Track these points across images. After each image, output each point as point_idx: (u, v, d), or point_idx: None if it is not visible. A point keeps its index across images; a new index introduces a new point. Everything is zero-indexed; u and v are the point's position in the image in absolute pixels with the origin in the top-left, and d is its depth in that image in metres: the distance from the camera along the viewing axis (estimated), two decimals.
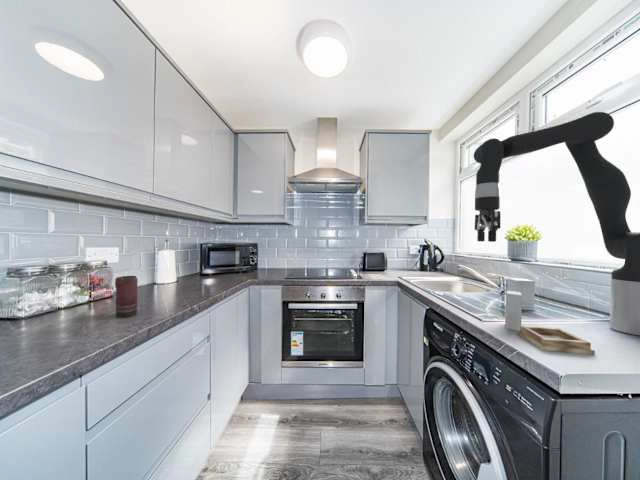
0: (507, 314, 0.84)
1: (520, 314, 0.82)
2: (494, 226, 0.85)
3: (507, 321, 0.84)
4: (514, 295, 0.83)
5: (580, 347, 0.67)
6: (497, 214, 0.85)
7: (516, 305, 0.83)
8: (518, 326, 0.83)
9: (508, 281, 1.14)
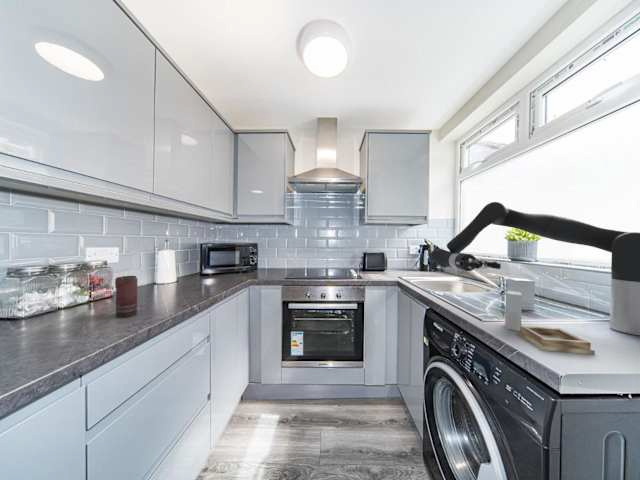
0: (507, 314, 0.84)
1: (520, 314, 0.82)
2: (463, 265, 1.01)
3: (507, 321, 0.84)
4: (514, 295, 0.83)
5: (580, 347, 0.67)
6: (457, 262, 1.05)
7: (516, 305, 0.83)
8: (518, 326, 0.83)
9: (508, 281, 1.14)
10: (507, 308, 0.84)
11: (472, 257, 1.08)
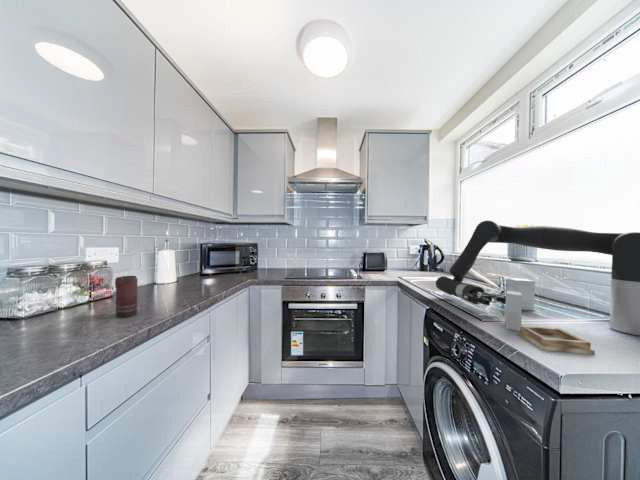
0: (507, 314, 0.84)
1: (520, 314, 0.82)
2: (472, 300, 0.96)
3: (507, 321, 0.84)
4: (514, 295, 0.83)
5: (580, 347, 0.67)
6: (465, 296, 1.00)
7: (516, 305, 0.83)
8: (518, 326, 0.83)
9: (508, 281, 1.14)
10: (507, 308, 0.84)
11: (480, 289, 1.03)
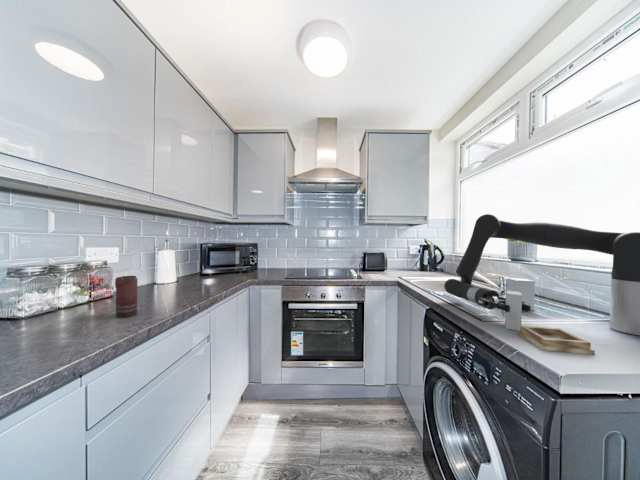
0: (507, 314, 0.84)
1: (520, 314, 0.82)
2: (489, 306, 0.88)
3: (507, 321, 0.84)
4: (514, 295, 0.83)
5: (580, 347, 0.67)
6: (480, 300, 0.92)
7: (516, 305, 0.83)
8: (518, 326, 0.83)
9: (508, 281, 1.14)
10: None
11: (495, 293, 0.95)
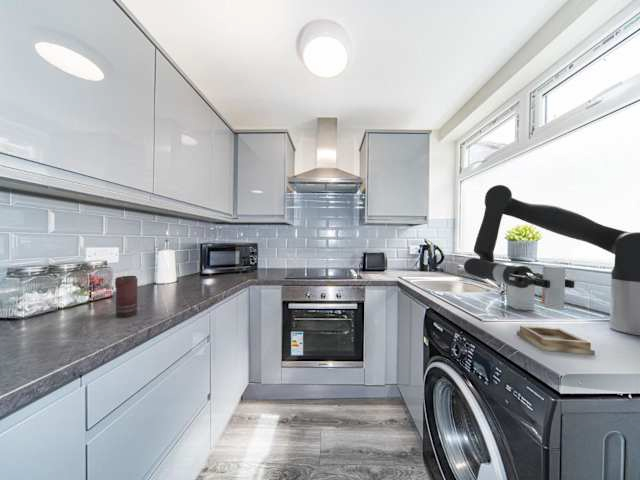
0: (546, 291, 0.72)
1: (563, 290, 0.70)
2: (523, 282, 0.76)
3: (546, 299, 0.72)
4: (555, 268, 0.71)
5: (580, 347, 0.67)
6: (511, 277, 0.80)
7: (557, 279, 0.70)
8: (560, 304, 0.70)
9: None
10: None
11: (528, 270, 0.83)
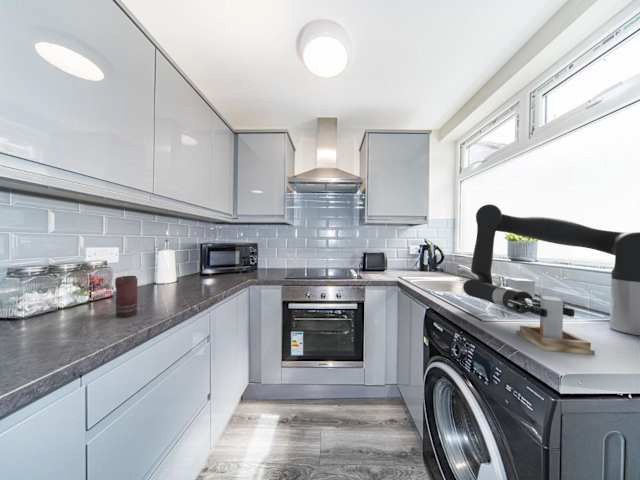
0: (545, 323, 0.72)
1: (561, 323, 0.70)
2: (520, 310, 0.76)
3: (545, 331, 0.72)
4: (553, 301, 0.71)
5: (580, 347, 0.67)
6: (510, 303, 0.80)
7: (555, 313, 0.71)
8: (558, 338, 0.70)
9: (508, 281, 1.14)
10: None
11: (527, 295, 0.83)
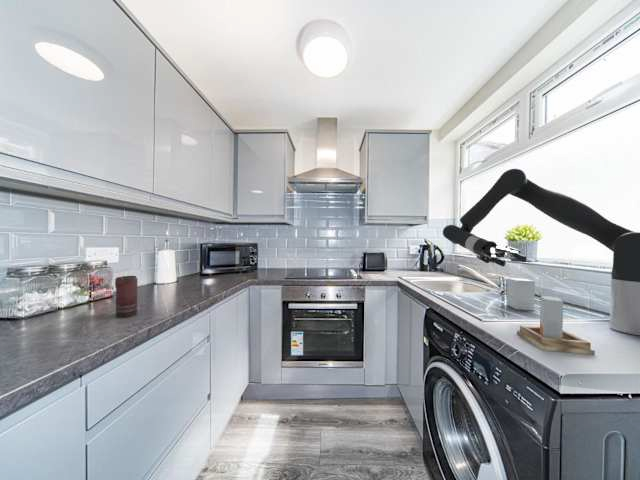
0: (545, 323, 0.72)
1: (561, 323, 0.70)
2: (485, 261, 0.94)
3: (545, 331, 0.72)
4: (553, 301, 0.71)
5: (580, 347, 0.67)
6: (478, 254, 0.97)
7: (555, 313, 0.71)
8: (558, 338, 0.70)
9: (508, 281, 1.14)
10: (545, 316, 0.72)
11: (493, 244, 1.00)
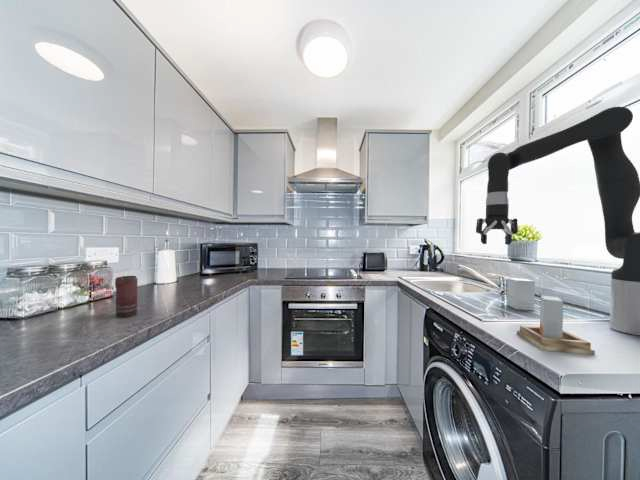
0: (545, 323, 0.72)
1: (561, 323, 0.70)
2: (476, 231, 1.04)
3: (545, 331, 0.72)
4: (553, 301, 0.71)
5: (580, 347, 0.67)
6: (478, 221, 1.03)
7: (555, 313, 0.71)
8: (558, 338, 0.70)
9: (508, 281, 1.14)
10: (545, 316, 0.72)
11: (503, 215, 0.99)
